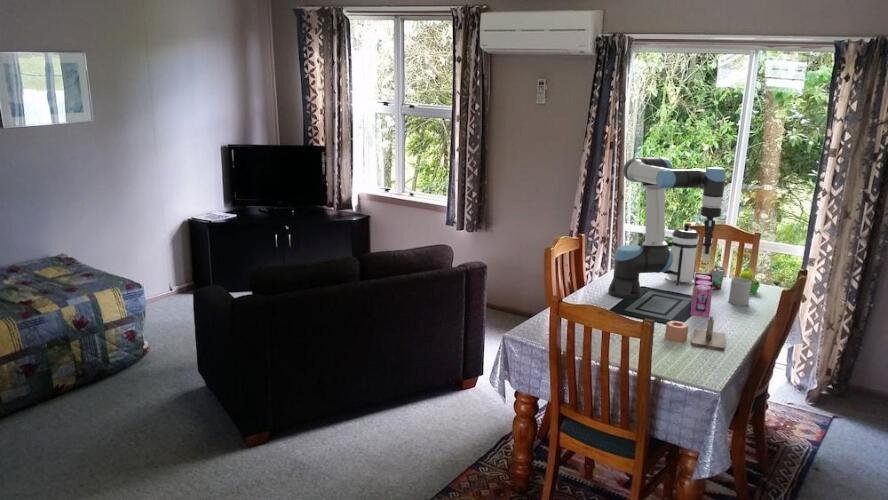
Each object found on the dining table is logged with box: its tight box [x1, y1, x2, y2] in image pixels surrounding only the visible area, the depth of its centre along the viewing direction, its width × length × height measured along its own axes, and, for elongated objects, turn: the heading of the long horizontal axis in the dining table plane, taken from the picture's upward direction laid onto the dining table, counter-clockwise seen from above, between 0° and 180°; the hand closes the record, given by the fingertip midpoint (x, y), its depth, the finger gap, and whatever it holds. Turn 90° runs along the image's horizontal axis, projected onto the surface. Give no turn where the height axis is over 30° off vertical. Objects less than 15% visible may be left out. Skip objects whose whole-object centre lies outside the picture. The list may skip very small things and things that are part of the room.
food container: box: [709, 265, 726, 291], centre depth 330 cm, size 12×6×10 cm, turn 148°
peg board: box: [690, 315, 726, 352], centre depth 265 cm, size 12×16×10 cm
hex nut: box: [664, 320, 689, 344], centre depth 267 cm, size 7×8×6 cm
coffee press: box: [662, 223, 700, 287], centre depth 336 cm, size 17×16×30 cm
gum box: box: [690, 272, 714, 319], centre depth 300 cm, size 24×8×14 cm, turn 159°
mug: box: [728, 277, 751, 307], centre depth 311 cm, size 12×8×11 cm
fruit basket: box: [740, 267, 761, 295], centre depth 327 cm, size 11×9×11 cm
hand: (705, 257), depth 275 cm, fingers open, 13 cm apart
